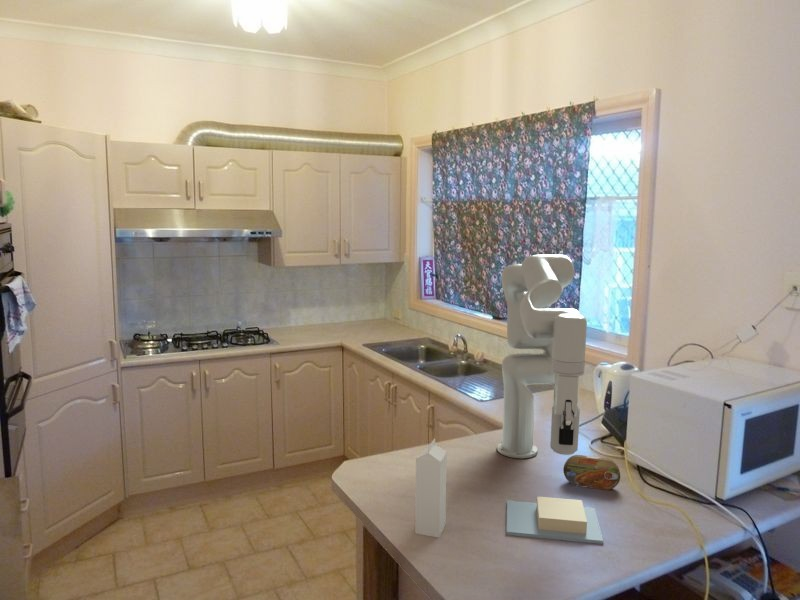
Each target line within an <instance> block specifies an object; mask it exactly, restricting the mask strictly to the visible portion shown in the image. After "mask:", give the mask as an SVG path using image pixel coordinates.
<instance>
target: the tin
mask: <svg viewBox="0 0 800 600" xmlns="http://www.w3.org/2000/svg"><path fill="white" fill-rule="evenodd" d="M562 472H563V475H564V478H565V479H566V480H567V481H568V483H569V484H572V485H573V486H576V485H578V486H577V487H582V486H587V487H586V488H589V487H592V488H591V489H596V488H597V490H602V489H603V490H604V491H608V490H613V489H614V488H616V487H617V486H618V485H619V483H620V481H621V471H620V468H619V466H618V465H617V463H616V462H615V461H613V460H612V459H609V458H606V457H598V456H590V455H583V454H582V455H581V454H574V455H572V456H571V455H570V457H568V459H566V461H565V462H564V465H563V471H562ZM603 490H602V491H603Z"/></svg>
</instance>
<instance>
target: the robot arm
mask: <svg viewBox="0 0 800 600" xmlns="http://www.w3.org/2000/svg"><path fill="white" fill-rule="evenodd" d="M574 277H575V266H574V263H573V261H572V260H571V258H570V257H568V256H567V255H565V254H534V255H533V254H532V255H529V256H528V257H526V258H525V259H524V260H522V262H521V263H516V264H515V263H513V264H508V265H506V266H505V267H504V268H503V269H502V273H501V285H502V286H501V287H502V291H503V294H504V297H505V299H506V305H507V308H506V309H507V312H506V315H507V317H506V318H507V319H506V321H507V324H506V326H507V327H506V328H507V329H506V337H507V343H508V346H509V347H510V348H512V349H514V350H542V352H543V353H541V352H540V353H538V352H537V353H536V352H534V353H531V352H530V353H529V352H527V353H526V352H525V353H523V352H522V353H518V352H517V353H511V354H508V355H506V356H504V358H503V360H502V362H501V371H502V380H503V415H502V416H503V417H502V418H503V419H502V441H501V442H499V443H498V444H497V447H496V448H497V452H498V453H499V454H501V455H503V456H505V457H507V458H513V459H529V458H534V457H535V456H536V455H537V454H538V453H539V452H538V450H539V449H538V446H536V445H535V444H534V425H535V424H534V423H535V422H534V421H535V401H536V400H535V396H534V394H533V392H532V390H530V389H529V388H528V385H550V384H551V385H552V384H554V385H553V386H554V387H553V397H552V398H553V399H552V400H553V401H552V406H553V405H554V413H555V415H556V416H558V415H561V427H559V444H560V445H573V434H574V428H573V417H575V416H576V415H577V405H578V406H579V402H578V401H579V390H580V389H579V387H580V386H579V385H580V377H581V376H583V375H584V374H585V370H586V368H585V364H586V346H587V345H586V344H587V329H588V327H587V326H588V324H587V318H586V317H584V316H583V315H582V314H581V312H580V311H579V310H578V309H576V308H570V307H569V308H565V307H564V308H558V307H557V308H556V307H555V308H554V307H551V308H550V307H549V306H551V305H553V304H555V303H556V302H557V301H558V300H559V299H560V297H561V296H562V292H563V289H564V288H566V287H567V286H569V285H570V284H571V283H572V282H573V280H574ZM547 307H548V308H547ZM563 412H566V415H563ZM573 412H574V413H573ZM563 418H565V420H564V421H563Z"/></svg>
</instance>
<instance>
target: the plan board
mask: <svg viewBox="0 0 800 600" xmlns="http://www.w3.org/2000/svg"><path fill="white" fill-rule="evenodd" d="M602 534H603V533H602V530H601V527H600V523H599V519H598V516H597V512H596V509H595V507H587V506H584V504H583V499H571V498H561V497H560V498H558V497H548V496H537V497H536V502H533V501H531V502H530V501H517V500H508V499H507V500H506V535H507V536H515V537H517V536H518V537H525V538H526V537H527V538H534V539H535V538H537V539H545V540H546V539H547V540H548V539H549V540H557V541H559V540H560V541H565V542H567V541H568V542H577V543H578V542H579V543H588V544H599V545H604V538H603V535H602Z"/></svg>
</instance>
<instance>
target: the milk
mask: <svg viewBox="0 0 800 600" xmlns="http://www.w3.org/2000/svg"><path fill="white" fill-rule="evenodd" d="M447 453H448V452H447V451H446V450H444V449H443V448H441V447H440V446H439V445H437V444H436V437H435V438H433V439H432V441H431V442H430V444H429V445H428V446H427V447H425V448H423V449H422V450H421V451H420V452H419V454H418V455H417V457H416V458H415V520H414V521H415V525H414V526H415V528H414V529H415V530H414V531H415V534H416V535H421V536H427V537H433V538H438V539H440V538H441V535H442V533H443V531H444V530H445V527H446V516H447V515H446V514H447V513H446V512H447V509H446V508H447V462H448V461H447V458H448V457H447V456H448V455H447Z"/></svg>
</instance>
